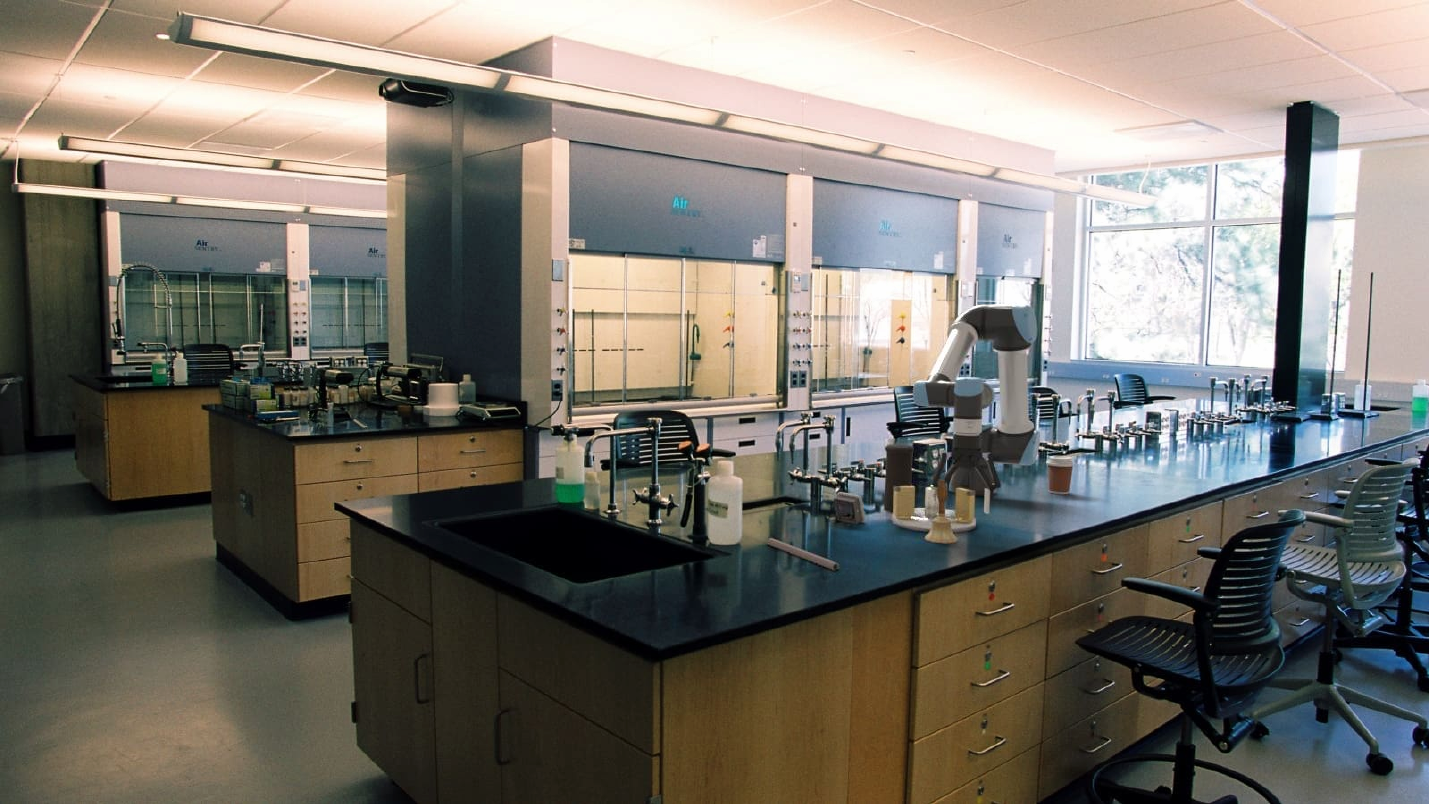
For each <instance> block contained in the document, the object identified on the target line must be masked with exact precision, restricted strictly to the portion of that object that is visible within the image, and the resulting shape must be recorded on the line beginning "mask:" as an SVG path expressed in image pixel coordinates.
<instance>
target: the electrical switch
mask: <svg viewBox="0 0 1429 804" xmlns="http://www.w3.org/2000/svg"><path fill="white" fill-rule="evenodd" d="M836 494H837V495H836V496H835V497H834V498H833V500H834V501H833V503H834V506H835V513H836V518H837V519H836V520H838V521H840V522H844V523H845V522H846V523H850V524H854V525H857V524H859V523H865V522H866V516H865V509H864V504H863V497H862V496H861V495H859V494H854V493H848V492H842V491H839V492H837V493H836Z"/></svg>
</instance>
